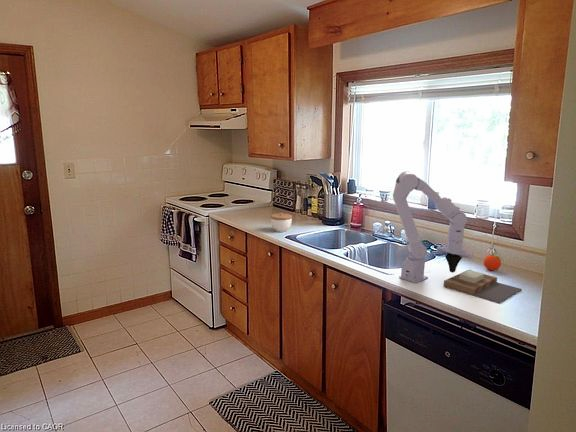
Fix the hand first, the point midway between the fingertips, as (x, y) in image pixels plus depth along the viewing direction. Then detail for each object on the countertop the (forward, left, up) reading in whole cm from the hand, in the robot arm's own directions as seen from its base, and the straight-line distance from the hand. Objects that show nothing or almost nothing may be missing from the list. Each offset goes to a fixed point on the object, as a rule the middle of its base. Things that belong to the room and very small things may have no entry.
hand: (452, 271), depth 175 cm
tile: (0, -8, -1) cm, 8 cm away
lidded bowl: (-1, +108, -3) cm, 108 cm away
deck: (-1, -8, -3) cm, 9 cm away
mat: (-1, -19, -3) cm, 19 cm away
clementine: (+24, -6, -3) cm, 26 cm away
